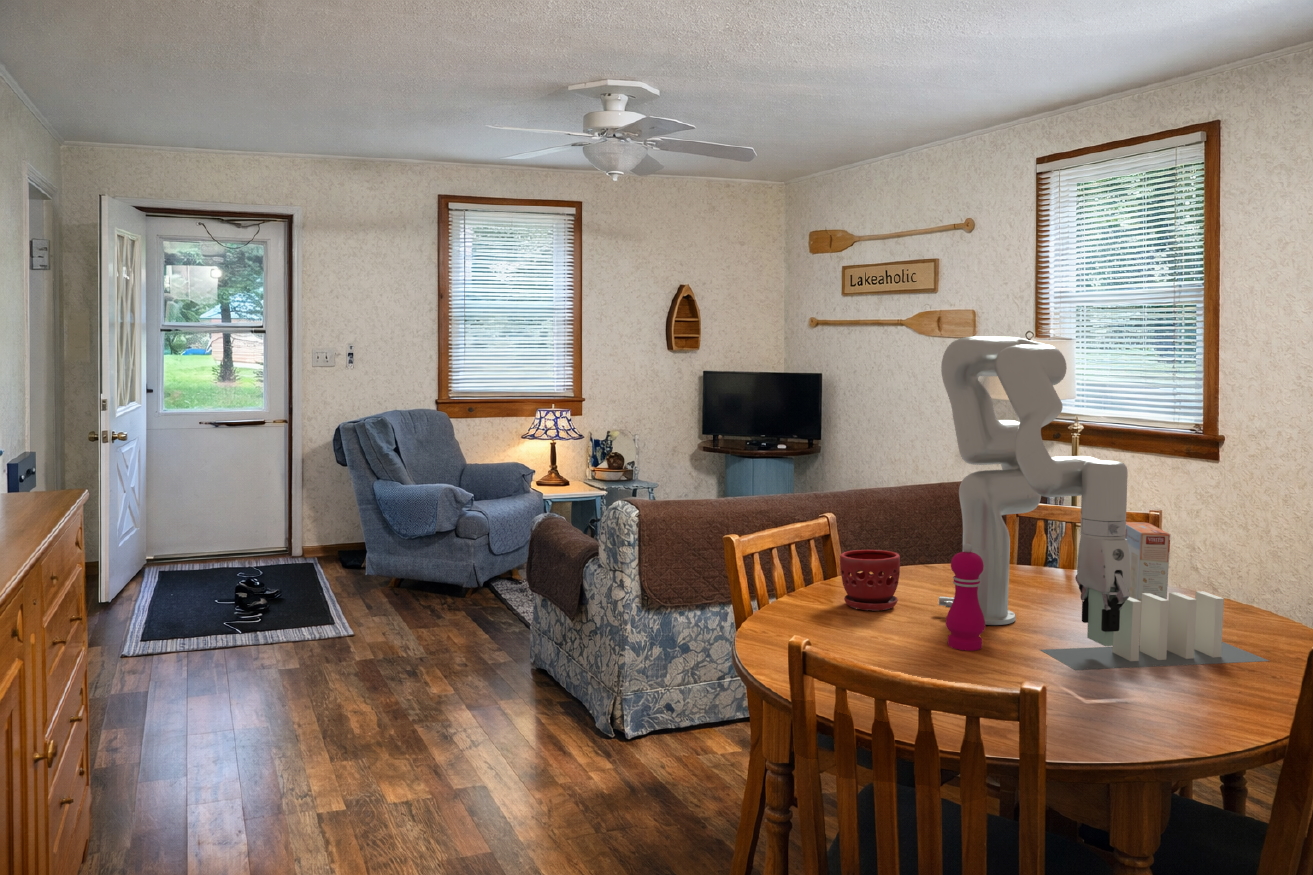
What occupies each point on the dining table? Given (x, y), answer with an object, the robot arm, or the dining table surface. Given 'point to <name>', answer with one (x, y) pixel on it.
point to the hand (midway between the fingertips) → (1100, 625)
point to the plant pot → (870, 578)
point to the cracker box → (1147, 559)
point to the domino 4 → (1209, 623)
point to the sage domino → (1097, 619)
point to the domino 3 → (1181, 625)
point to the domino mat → (1143, 658)
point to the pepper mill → (966, 602)
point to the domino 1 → (1128, 631)
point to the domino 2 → (1154, 626)
